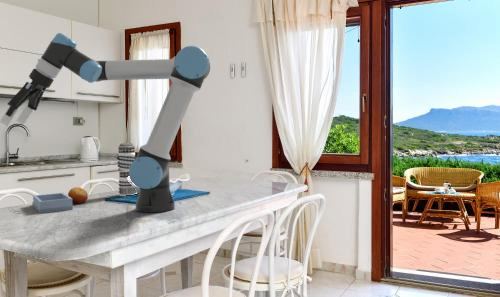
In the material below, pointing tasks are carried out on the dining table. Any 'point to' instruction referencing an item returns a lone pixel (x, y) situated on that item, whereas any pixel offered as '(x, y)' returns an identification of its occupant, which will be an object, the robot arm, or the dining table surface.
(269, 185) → the dining table surface
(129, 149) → the decorative candle
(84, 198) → the fruit
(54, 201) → the blue-grey open box
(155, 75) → the robot arm
